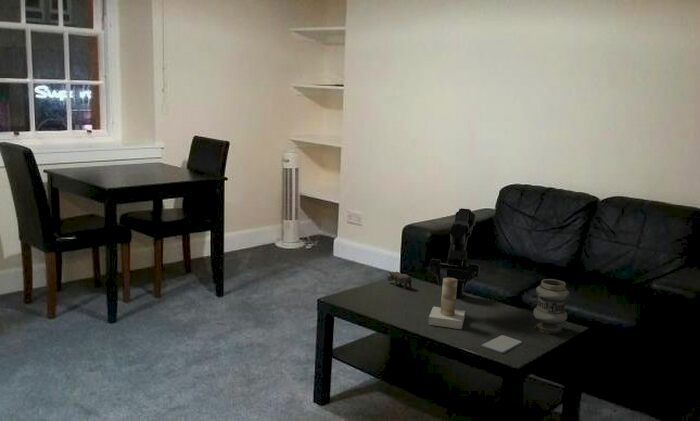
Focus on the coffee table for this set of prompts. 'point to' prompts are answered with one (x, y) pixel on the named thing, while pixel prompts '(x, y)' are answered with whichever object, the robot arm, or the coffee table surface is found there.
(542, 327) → the apothecary jar
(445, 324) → the cream plinth
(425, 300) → the coffee table surface
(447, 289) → the birch pillar
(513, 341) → the smartphone
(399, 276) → the rhino figurine
